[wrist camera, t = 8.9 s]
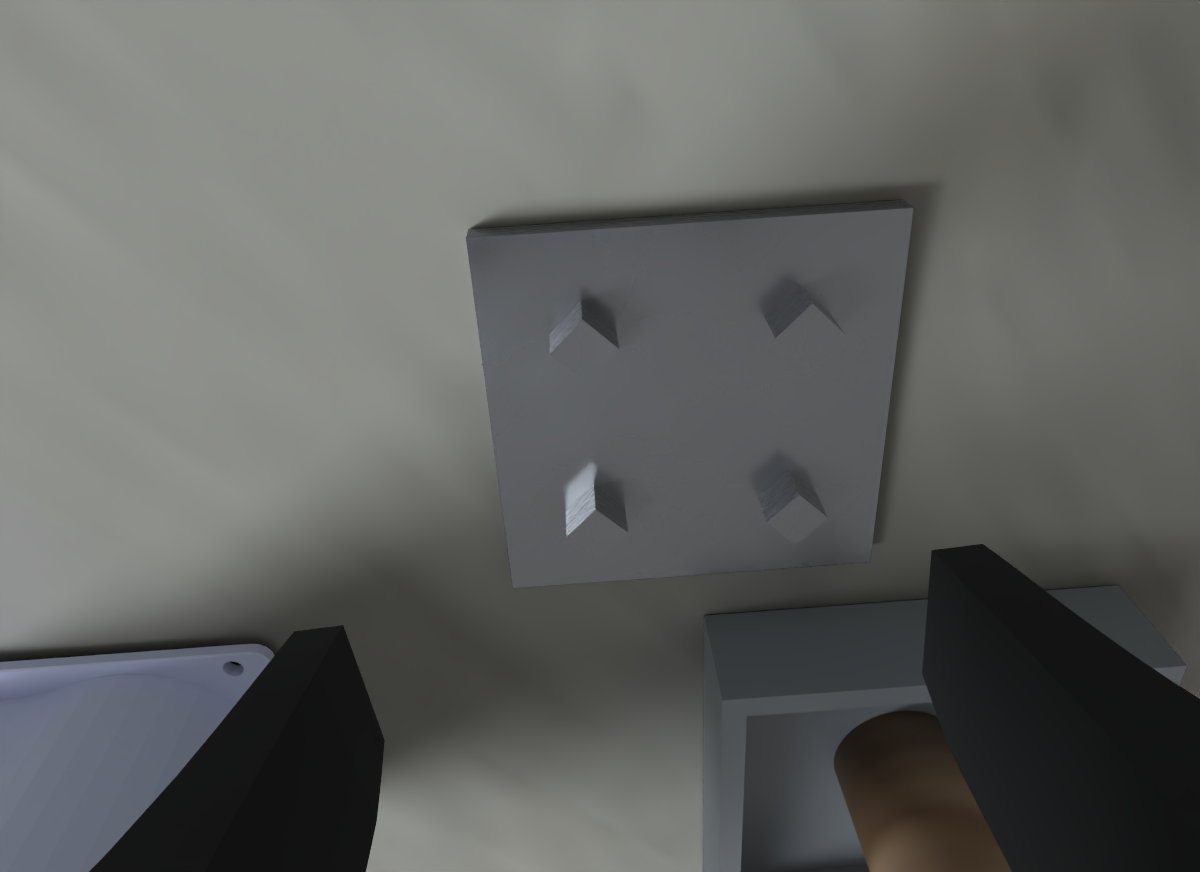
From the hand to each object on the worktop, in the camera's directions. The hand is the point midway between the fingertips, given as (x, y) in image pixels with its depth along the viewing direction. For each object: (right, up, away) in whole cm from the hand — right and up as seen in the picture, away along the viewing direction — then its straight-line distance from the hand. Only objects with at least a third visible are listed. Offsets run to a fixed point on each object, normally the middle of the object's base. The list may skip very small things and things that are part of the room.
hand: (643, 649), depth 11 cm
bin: (+8, -7, +16) cm, 19 cm away
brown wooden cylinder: (+8, -7, +15) cm, 18 cm away
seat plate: (+1, +3, +10) cm, 10 cm away
